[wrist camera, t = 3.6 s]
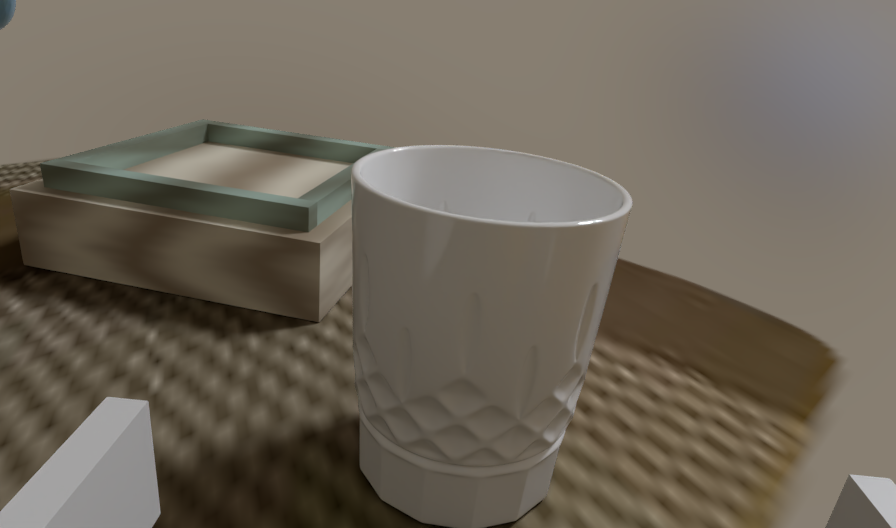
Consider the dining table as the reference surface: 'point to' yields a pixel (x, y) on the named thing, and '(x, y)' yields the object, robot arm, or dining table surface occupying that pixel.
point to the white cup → (474, 321)
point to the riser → (202, 216)
